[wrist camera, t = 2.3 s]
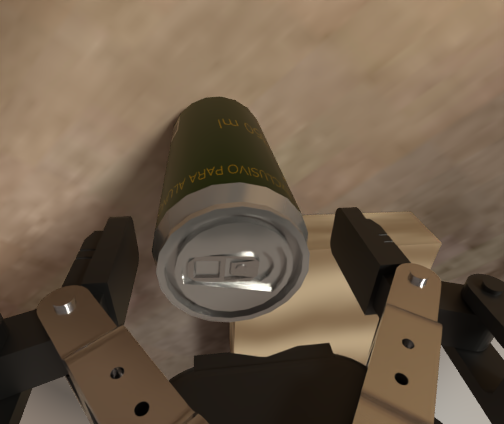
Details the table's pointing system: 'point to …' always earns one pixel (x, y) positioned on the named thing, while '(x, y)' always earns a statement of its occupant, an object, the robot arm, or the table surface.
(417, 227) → the oak pedestal
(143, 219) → the table surface
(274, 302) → the beer can
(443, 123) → the table surface
